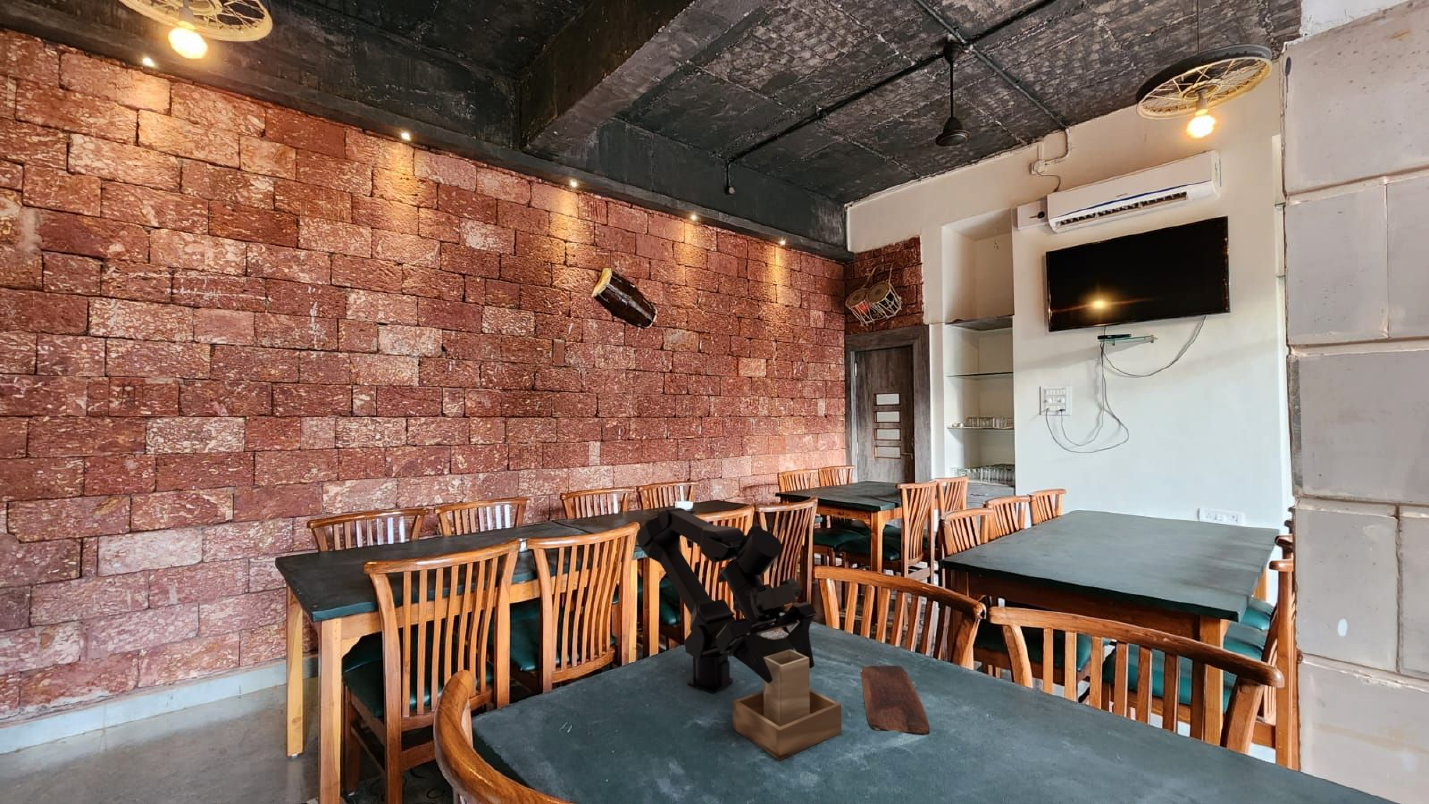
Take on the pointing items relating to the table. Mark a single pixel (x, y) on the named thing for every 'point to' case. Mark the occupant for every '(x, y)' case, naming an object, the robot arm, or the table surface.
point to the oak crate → (791, 735)
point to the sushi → (773, 642)
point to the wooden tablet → (892, 701)
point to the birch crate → (787, 687)
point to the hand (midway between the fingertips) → (792, 674)
